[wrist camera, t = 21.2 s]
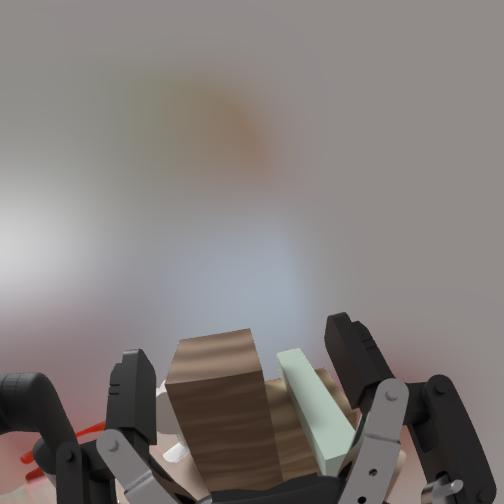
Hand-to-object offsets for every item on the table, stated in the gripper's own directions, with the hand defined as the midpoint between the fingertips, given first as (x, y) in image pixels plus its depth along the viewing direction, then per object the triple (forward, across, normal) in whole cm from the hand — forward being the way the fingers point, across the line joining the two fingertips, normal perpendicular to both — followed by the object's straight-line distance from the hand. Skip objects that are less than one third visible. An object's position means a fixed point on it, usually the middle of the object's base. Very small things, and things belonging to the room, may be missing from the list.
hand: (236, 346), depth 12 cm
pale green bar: (+6, -8, +28) cm, 29 cm away
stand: (-1, -2, +49) cm, 49 cm away
